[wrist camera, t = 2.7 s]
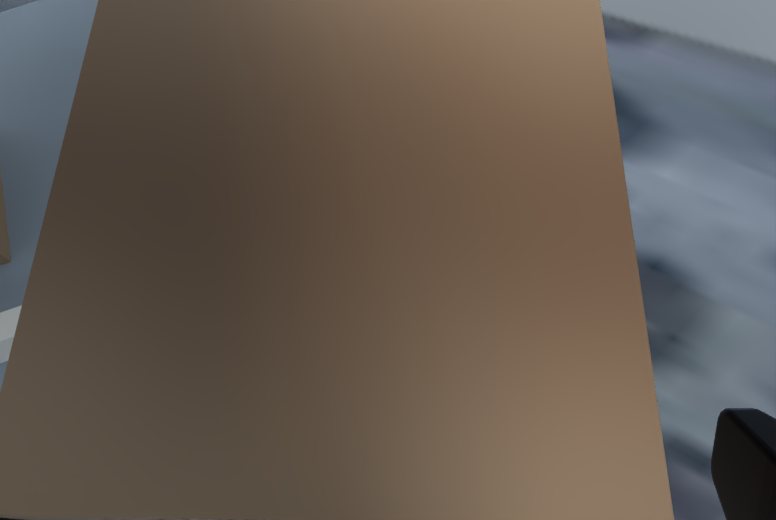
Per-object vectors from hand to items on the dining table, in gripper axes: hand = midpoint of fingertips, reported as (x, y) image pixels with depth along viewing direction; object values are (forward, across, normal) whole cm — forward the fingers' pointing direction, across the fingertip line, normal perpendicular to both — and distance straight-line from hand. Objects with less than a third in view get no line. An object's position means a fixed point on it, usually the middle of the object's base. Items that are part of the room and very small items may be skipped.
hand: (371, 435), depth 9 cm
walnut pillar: (+7, 0, +5) cm, 9 cm away
